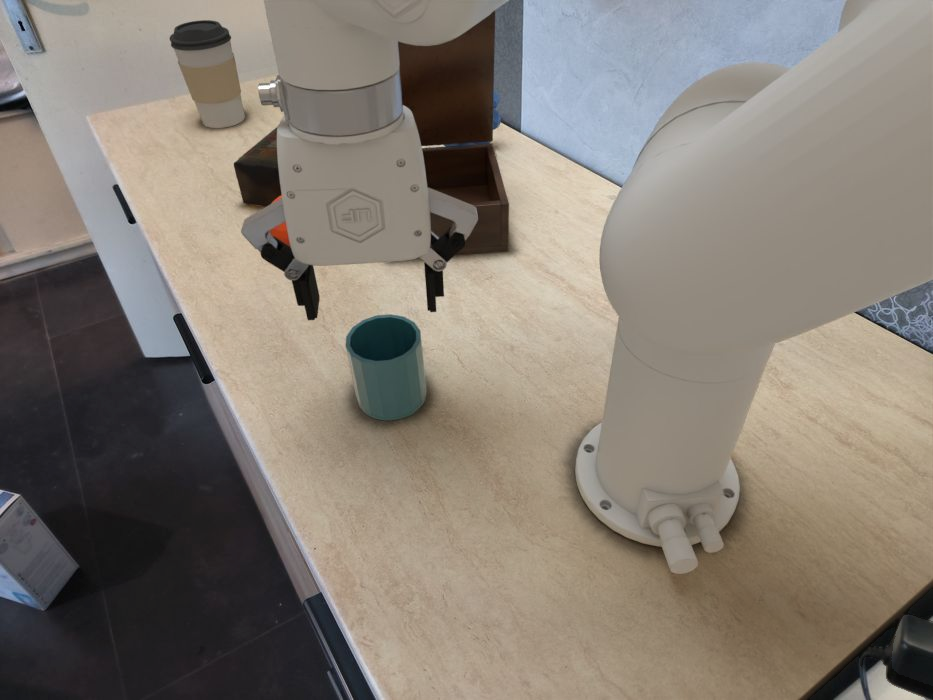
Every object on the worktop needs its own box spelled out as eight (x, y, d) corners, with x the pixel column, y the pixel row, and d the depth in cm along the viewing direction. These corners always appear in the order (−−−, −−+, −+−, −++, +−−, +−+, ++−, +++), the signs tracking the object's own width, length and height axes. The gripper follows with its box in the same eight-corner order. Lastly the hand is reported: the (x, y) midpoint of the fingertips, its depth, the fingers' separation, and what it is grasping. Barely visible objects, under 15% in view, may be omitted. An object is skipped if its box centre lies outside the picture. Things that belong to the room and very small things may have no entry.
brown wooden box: (508, 251, 77) (509, 203, 73) (392, 260, 77) (386, 212, 72) (492, 187, 89) (492, 142, 85) (391, 195, 88) (386, 150, 84)
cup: (428, 417, 58) (422, 360, 53) (356, 423, 58) (343, 366, 53) (425, 368, 63) (419, 311, 58) (358, 373, 63) (347, 317, 58)
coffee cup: (201, 111, 113) (172, 17, 102) (254, 107, 113) (230, 13, 103) (191, 132, 106) (158, 34, 96) (247, 128, 106) (221, 30, 96)
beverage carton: (352, 150, 99) (345, 107, 94) (295, 214, 85) (284, 168, 81) (304, 146, 101) (295, 103, 96) (241, 208, 87) (227, 162, 83)
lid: (495, 11, 71) (489, -13, 74) (368, 19, 70) (368, -6, 74) (492, 141, 84) (487, 116, 88) (386, 149, 84) (385, 123, 87)
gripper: (194, 129, 39) (260, 343, 50) (483, 115, 40) (482, 328, 51) (218, 82, 44) (272, 285, 56) (471, 71, 45) (473, 272, 57)
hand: (373, 305), depth 54 cm, fingers open, 9 cm apart
